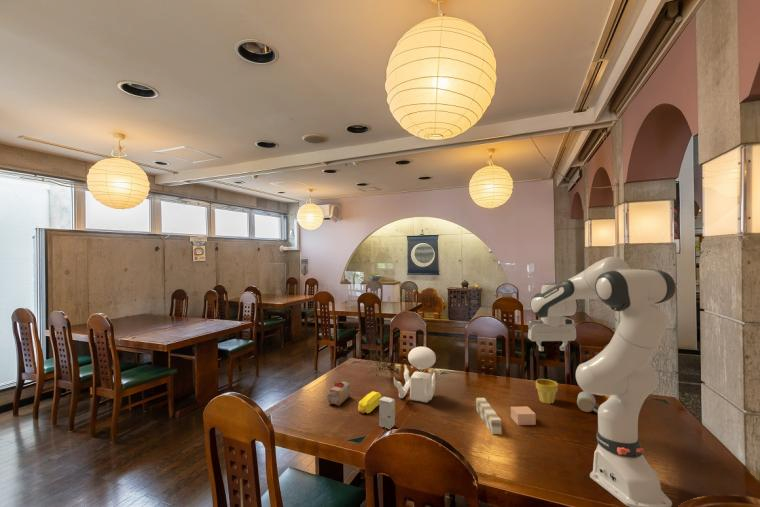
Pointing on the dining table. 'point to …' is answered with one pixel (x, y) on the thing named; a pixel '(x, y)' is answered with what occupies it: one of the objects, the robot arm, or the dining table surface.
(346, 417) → the dining table surface
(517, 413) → the peach block
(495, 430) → the white segmented block row
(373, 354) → the dried plant
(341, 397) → the food item
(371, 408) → the yellow rounded capsule
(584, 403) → the ceramic mug
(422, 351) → the figurine
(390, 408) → the skincare box
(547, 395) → the plant pot
